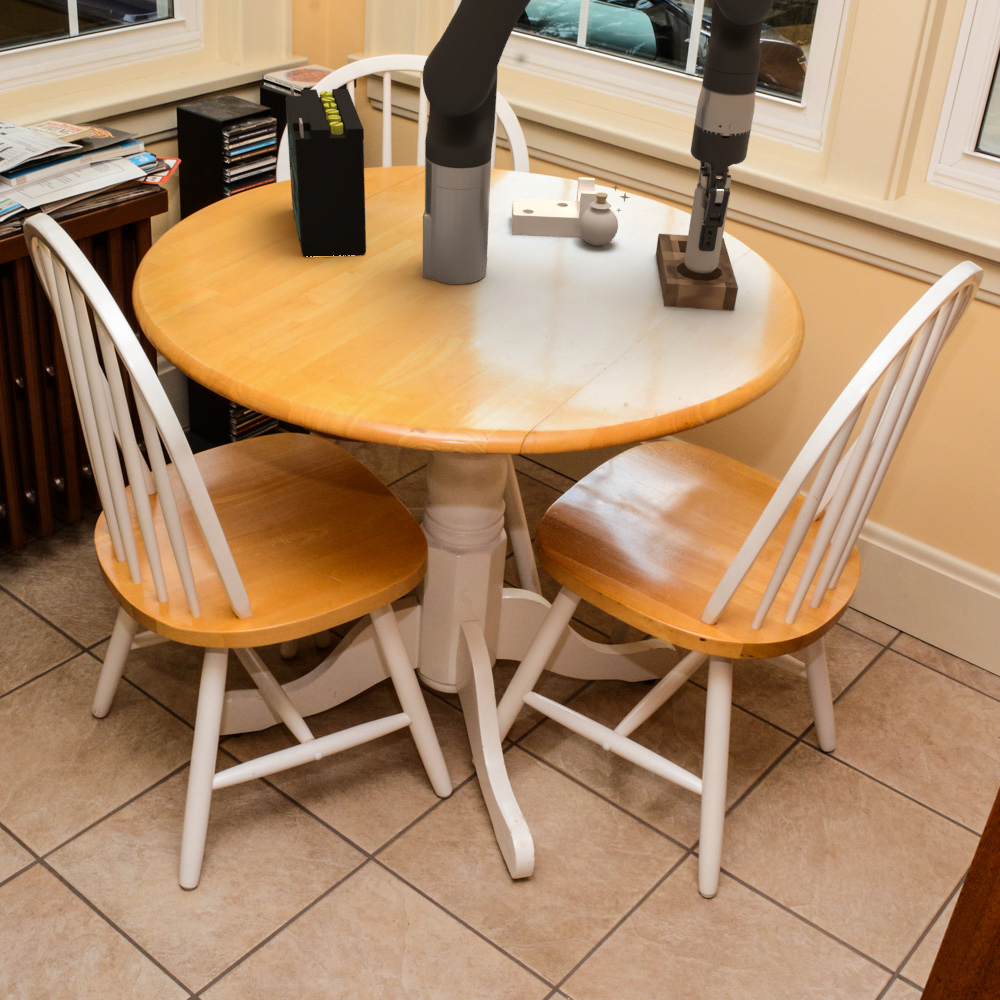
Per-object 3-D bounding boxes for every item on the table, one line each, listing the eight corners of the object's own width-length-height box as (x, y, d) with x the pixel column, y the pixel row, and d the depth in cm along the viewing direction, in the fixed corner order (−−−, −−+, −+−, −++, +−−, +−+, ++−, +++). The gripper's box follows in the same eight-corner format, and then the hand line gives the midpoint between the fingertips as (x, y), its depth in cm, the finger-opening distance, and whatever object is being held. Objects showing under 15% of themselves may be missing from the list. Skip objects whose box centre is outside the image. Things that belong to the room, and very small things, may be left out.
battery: (292, 209, 182) (284, 84, 171) (351, 207, 184) (347, 83, 173) (302, 258, 167) (294, 124, 156) (366, 255, 169) (363, 122, 158)
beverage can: (716, 276, 159) (730, 194, 152) (682, 272, 160) (694, 190, 153) (717, 262, 163) (731, 182, 156) (684, 258, 164) (697, 178, 157)
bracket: (590, 222, 185) (594, 178, 180) (593, 239, 179) (597, 194, 175) (511, 219, 184) (514, 174, 180) (512, 236, 179) (514, 190, 174)
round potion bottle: (578, 234, 180) (584, 173, 174) (624, 238, 179) (632, 177, 173) (576, 249, 175) (582, 187, 169) (624, 254, 174) (631, 191, 168)
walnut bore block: (664, 306, 160) (667, 283, 158) (655, 254, 175) (658, 233, 172) (733, 310, 160) (738, 288, 158) (719, 258, 174) (723, 237, 172)
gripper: (690, 104, 155) (673, 221, 165) (700, 137, 144) (682, 261, 154) (744, 107, 155) (724, 224, 165) (758, 141, 144) (736, 265, 153)
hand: (704, 242), depth 159 cm, fingers closed on beverage can, 4 cm apart
